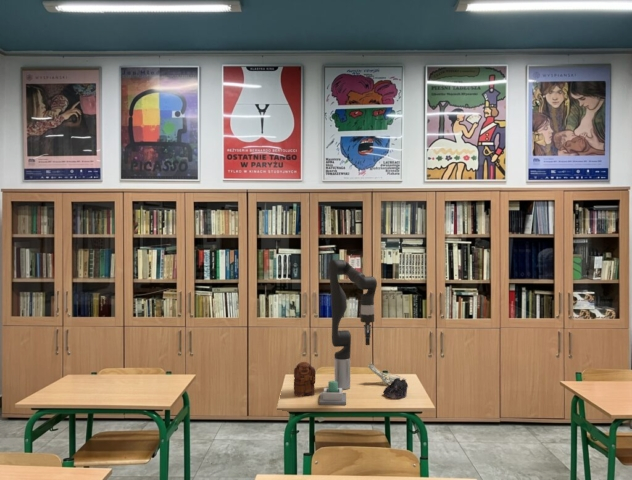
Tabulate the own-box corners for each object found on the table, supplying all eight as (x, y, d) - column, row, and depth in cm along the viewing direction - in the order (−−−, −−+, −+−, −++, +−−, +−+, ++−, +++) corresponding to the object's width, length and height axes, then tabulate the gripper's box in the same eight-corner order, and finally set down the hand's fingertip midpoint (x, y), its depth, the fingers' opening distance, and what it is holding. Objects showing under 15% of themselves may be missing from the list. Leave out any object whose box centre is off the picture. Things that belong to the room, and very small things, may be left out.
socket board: (320, 395, 275) (320, 386, 275) (345, 395, 274) (345, 386, 274) (319, 404, 258) (319, 395, 258) (346, 405, 257) (345, 395, 257)
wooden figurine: (295, 396, 272) (294, 364, 272) (293, 393, 278) (293, 361, 278) (316, 395, 274) (316, 363, 274) (314, 392, 280) (314, 360, 280)
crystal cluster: (383, 400, 268) (384, 382, 267) (382, 390, 281) (384, 373, 281) (407, 402, 266) (409, 385, 266) (406, 393, 280) (407, 376, 279)
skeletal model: (409, 387, 289) (377, 358, 290) (398, 399, 289) (367, 369, 291) (406, 380, 305) (376, 352, 306) (396, 390, 305) (366, 362, 307)
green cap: (328, 395, 269) (328, 380, 269) (337, 395, 268) (337, 381, 268) (328, 398, 264) (328, 383, 264) (337, 398, 263) (337, 383, 263)
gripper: (360, 311, 276) (360, 342, 276) (360, 314, 263) (361, 347, 263) (373, 311, 276) (373, 342, 276) (375, 314, 263) (375, 347, 262)
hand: (367, 344), depth 269 cm, fingers closed
